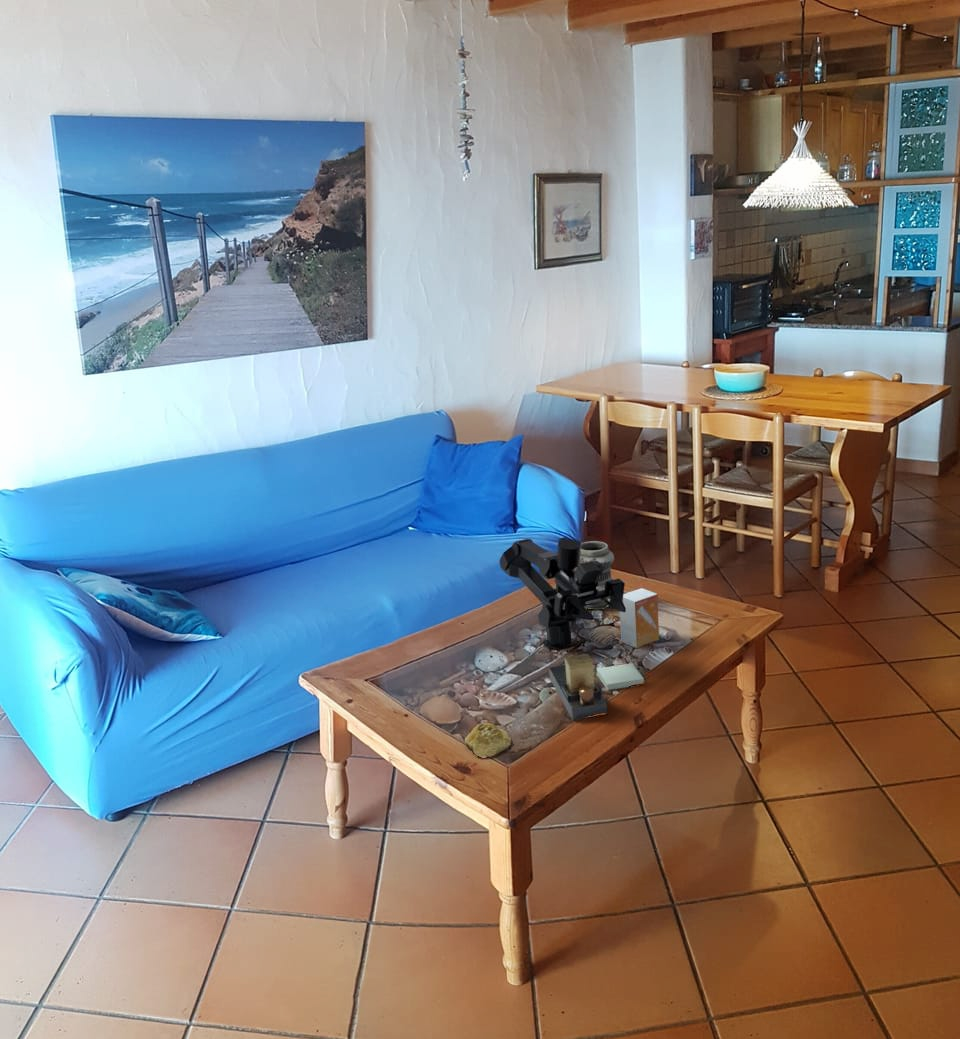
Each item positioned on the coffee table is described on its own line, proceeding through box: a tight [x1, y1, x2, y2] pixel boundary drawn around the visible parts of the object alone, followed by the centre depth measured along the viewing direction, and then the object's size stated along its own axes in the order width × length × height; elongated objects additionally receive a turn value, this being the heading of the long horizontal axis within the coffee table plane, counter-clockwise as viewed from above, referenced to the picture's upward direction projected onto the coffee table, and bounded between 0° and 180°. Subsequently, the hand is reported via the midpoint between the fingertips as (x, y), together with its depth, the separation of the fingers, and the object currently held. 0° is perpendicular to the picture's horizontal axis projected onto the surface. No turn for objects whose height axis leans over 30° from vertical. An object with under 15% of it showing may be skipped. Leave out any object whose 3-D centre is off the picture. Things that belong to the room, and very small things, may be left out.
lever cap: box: [564, 653, 595, 695], centre depth 221 cm, size 5×6×8 cm
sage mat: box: [596, 662, 645, 691], centre depth 232 cm, size 9×9×2 cm
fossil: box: [464, 722, 512, 758], centre depth 208 cm, size 11×6×10 cm
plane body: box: [548, 664, 608, 721], centre depth 225 cm, size 22×8×6 cm, turn 9°
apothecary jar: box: [580, 540, 615, 610], centre depth 277 cm, size 12×12×18 cm
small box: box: [619, 587, 660, 649], centre depth 251 cm, size 8×6×13 cm
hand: (609, 614), depth 229 cm, fingers open, 9 cm apart
